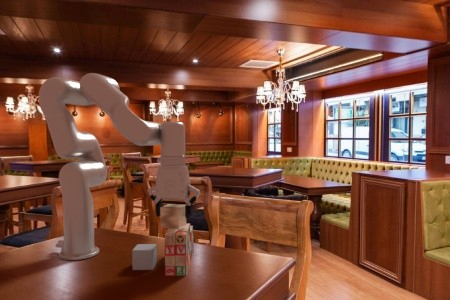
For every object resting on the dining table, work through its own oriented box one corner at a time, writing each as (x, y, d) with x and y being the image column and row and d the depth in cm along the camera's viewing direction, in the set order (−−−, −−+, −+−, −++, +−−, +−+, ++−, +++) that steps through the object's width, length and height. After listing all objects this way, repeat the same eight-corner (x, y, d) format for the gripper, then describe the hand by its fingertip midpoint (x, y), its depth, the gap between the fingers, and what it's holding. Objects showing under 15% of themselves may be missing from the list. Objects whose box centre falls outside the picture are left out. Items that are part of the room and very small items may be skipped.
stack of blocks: (175, 252, 119) (175, 216, 119) (193, 252, 119) (193, 216, 119) (164, 276, 98) (164, 233, 98) (186, 276, 98) (186, 233, 98)
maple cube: (160, 226, 105) (160, 207, 105) (169, 222, 111) (168, 203, 111) (178, 228, 104) (178, 208, 104) (186, 223, 110) (186, 204, 109)
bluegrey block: (132, 270, 103) (132, 250, 103) (137, 262, 109) (137, 244, 109) (152, 270, 103) (152, 250, 103) (156, 262, 109) (156, 244, 109)
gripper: (142, 162, 105) (142, 217, 106) (195, 163, 101) (195, 221, 101) (153, 160, 113) (154, 212, 113) (203, 161, 108) (204, 215, 108)
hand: (173, 216), depth 107 cm, fingers open, 9 cm apart
